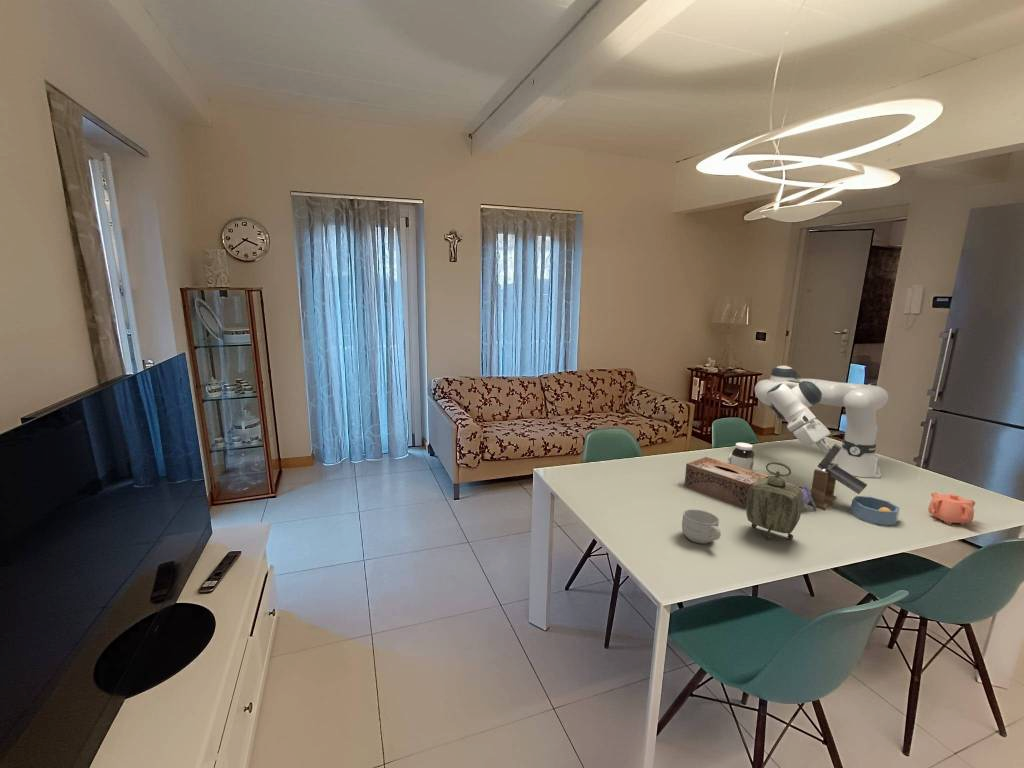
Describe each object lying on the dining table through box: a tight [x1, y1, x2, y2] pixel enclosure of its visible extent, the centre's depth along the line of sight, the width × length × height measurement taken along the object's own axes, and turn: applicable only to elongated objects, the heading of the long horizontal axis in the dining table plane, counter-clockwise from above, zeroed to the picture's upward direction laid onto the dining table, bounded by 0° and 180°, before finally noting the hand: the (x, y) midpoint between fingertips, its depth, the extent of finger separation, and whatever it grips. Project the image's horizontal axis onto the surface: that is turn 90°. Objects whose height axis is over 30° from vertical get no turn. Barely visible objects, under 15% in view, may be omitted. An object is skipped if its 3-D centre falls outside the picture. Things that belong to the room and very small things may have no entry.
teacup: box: [681, 508, 722, 544], centre depth 145 cm, size 14×11×8 cm
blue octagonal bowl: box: [850, 495, 901, 527], centre depth 163 cm, size 13×13×5 cm
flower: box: [798, 486, 817, 512], centre depth 169 cm, size 9×9×10 cm
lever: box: [817, 443, 868, 495], centre depth 168 cm, size 10×15×11 cm, turn 42°
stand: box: [805, 462, 838, 511], centre depth 174 cm, size 15×6×14 cm, turn 132°
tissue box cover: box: [684, 456, 770, 510], centre depth 182 cm, size 26×14×10 cm, turn 37°
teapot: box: [927, 492, 976, 526], centre depth 161 cm, size 12×12×10 cm
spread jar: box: [727, 442, 755, 471], centre depth 209 cm, size 12×11×12 cm
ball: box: [879, 507, 891, 511], centre depth 161 cm, size 4×4×4 cm
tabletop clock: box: [745, 461, 803, 540], centre depth 147 cm, size 14×9×25 cm, turn 48°
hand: (828, 451), depth 172 cm, fingers closed, pressing on lever
